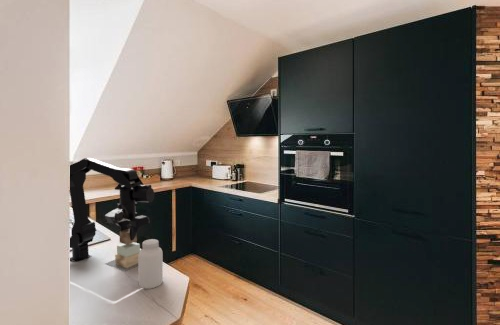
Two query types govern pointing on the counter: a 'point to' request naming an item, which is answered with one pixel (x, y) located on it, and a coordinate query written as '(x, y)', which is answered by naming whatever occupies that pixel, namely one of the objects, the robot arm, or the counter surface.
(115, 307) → the counter surface
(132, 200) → the robot arm
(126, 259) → the tower base
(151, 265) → the pill bottle
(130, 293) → the counter surface
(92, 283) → the counter surface
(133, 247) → the tower mid
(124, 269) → the slate board
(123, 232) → the walnut block
